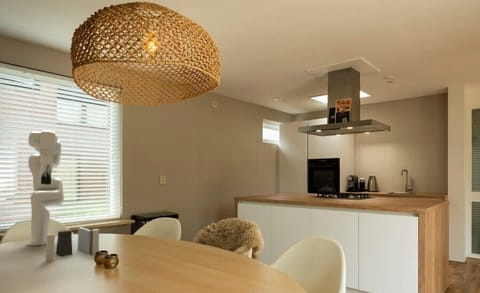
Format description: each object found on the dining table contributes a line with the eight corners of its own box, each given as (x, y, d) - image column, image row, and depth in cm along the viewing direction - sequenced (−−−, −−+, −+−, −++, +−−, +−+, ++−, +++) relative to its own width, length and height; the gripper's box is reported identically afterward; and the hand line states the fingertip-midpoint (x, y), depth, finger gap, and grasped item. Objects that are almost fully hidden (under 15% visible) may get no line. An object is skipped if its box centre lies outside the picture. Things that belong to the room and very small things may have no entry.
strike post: (45, 260, 161) (46, 234, 162) (52, 259, 163) (53, 233, 164) (46, 261, 159) (47, 235, 159) (53, 260, 160) (54, 234, 161)
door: (92, 254, 173) (92, 229, 174) (89, 254, 172) (90, 230, 173) (80, 248, 185) (81, 226, 186) (77, 249, 184) (78, 226, 185)
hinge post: (90, 253, 174) (91, 229, 175) (96, 252, 176) (97, 228, 177) (92, 254, 172) (93, 230, 173) (98, 253, 174) (99, 229, 175)
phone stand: (55, 253, 175) (56, 230, 176) (68, 251, 179) (69, 228, 180) (59, 256, 168) (60, 232, 169) (72, 254, 172) (73, 231, 173)
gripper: (36, 153, 187) (35, 183, 186) (42, 152, 174) (40, 184, 172) (51, 154, 192) (50, 183, 190) (58, 152, 178) (56, 184, 177)
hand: (45, 184), depth 181 cm, fingers open, 9 cm apart
